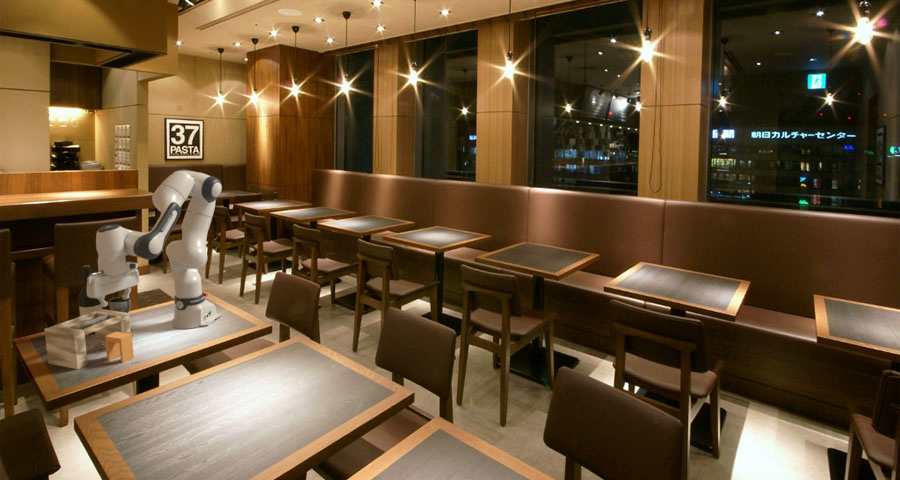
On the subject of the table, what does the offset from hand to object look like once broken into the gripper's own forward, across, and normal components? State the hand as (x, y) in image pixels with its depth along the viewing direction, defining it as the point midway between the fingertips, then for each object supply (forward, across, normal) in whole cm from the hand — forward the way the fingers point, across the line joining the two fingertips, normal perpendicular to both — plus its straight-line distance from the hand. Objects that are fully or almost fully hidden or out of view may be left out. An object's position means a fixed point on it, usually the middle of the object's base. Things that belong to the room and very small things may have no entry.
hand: (115, 302), depth 195 cm
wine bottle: (+24, +18, +34) cm, 45 cm away
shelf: (+23, 0, +14) cm, 27 cm away
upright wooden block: (+23, 0, 0) cm, 23 cm away
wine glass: (+24, +22, +22) cm, 39 cm away
